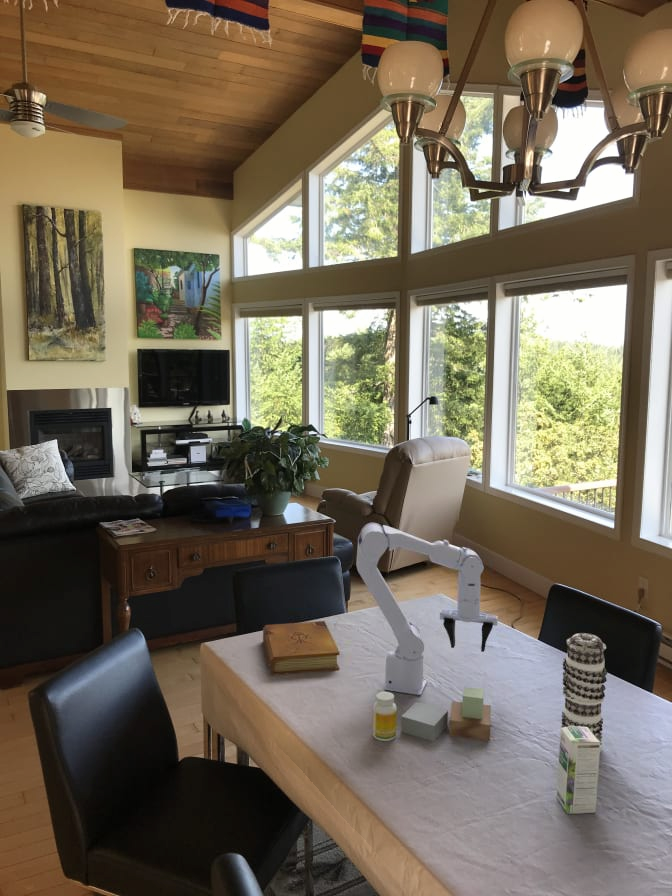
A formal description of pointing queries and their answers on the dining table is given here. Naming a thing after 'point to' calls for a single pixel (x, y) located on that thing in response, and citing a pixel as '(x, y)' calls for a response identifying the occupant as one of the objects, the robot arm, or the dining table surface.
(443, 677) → the dining table surface
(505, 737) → the dining table surface
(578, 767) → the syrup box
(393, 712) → the supplement bottle
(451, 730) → the walnut block
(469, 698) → the sage block
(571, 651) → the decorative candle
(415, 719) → the slate block
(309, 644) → the diary
